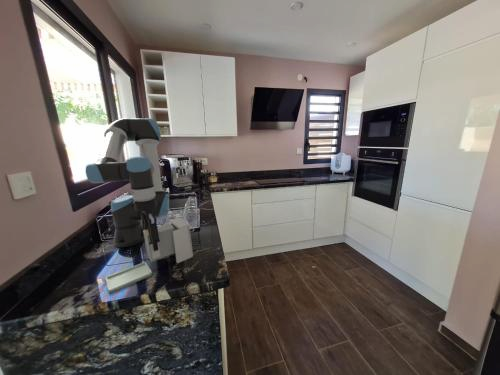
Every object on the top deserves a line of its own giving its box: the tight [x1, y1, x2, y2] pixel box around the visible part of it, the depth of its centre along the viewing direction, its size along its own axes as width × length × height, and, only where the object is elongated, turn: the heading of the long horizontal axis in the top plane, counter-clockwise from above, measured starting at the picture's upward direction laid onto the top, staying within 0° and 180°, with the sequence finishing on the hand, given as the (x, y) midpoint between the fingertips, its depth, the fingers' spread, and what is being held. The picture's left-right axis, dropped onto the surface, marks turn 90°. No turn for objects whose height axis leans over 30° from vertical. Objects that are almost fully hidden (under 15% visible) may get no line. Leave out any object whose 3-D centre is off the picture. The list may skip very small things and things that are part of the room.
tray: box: [104, 261, 153, 294], centre depth 73 cm, size 10×14×1 cm
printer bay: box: [162, 217, 194, 264], centre depth 85 cm, size 11×7×15 cm, turn 41°
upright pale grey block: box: [143, 222, 175, 263], centre depth 79 cm, size 6×10×11 cm, turn 131°
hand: (154, 253), depth 79 cm, fingers closed on upright pale grey block, 6 cm apart
